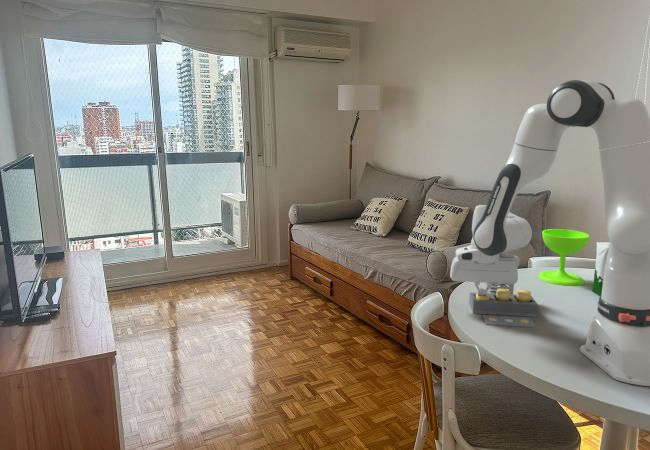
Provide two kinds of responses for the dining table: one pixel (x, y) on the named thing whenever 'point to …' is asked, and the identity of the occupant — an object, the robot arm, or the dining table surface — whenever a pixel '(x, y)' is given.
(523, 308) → the button board
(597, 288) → the milk carton
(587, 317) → the dining table surface
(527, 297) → the right button
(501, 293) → the middle button
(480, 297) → the left button
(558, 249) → the wineglass
